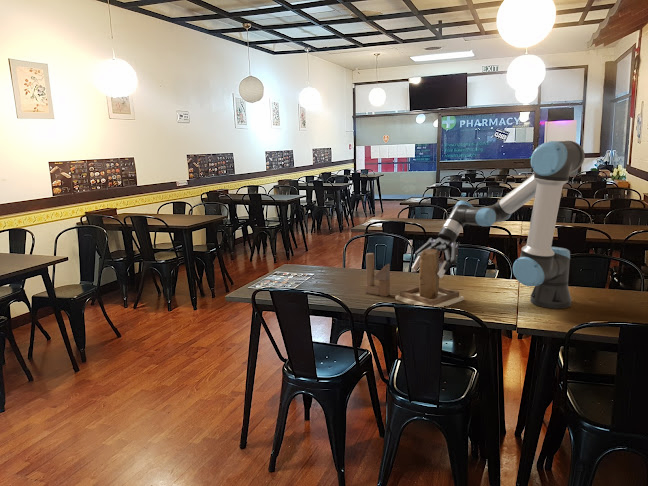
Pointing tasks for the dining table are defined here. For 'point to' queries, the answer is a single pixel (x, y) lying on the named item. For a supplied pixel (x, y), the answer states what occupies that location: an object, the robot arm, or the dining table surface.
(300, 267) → the dining table surface
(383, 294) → the wooden block
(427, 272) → the block
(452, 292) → the pocket board
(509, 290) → the dining table surface
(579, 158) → the robot arm
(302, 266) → the dining table surface
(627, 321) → the dining table surface
